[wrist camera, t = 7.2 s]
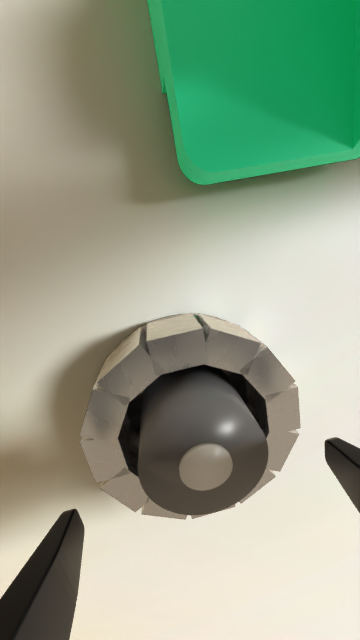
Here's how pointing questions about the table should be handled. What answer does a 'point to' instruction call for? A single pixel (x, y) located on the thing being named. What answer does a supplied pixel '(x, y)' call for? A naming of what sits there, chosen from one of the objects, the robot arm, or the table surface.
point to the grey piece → (168, 356)
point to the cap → (198, 442)
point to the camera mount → (259, 84)
